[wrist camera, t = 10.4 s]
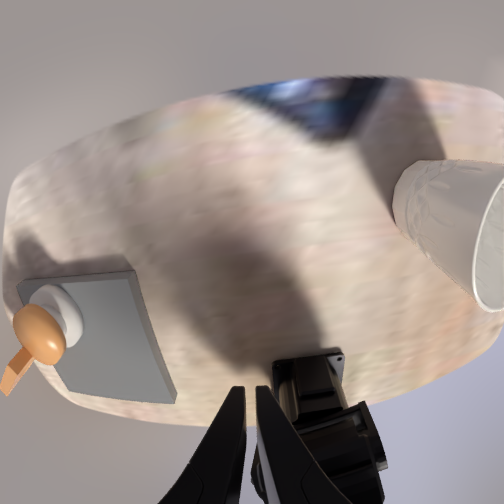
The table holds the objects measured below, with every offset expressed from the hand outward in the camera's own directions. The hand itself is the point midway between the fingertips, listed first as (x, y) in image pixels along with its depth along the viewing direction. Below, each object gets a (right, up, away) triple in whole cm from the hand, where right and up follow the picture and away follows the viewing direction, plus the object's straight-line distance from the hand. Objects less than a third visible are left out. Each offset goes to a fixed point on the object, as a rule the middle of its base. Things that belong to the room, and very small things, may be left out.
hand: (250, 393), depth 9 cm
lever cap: (-20, -4, +11) cm, 23 cm away
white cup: (+14, +9, +10) cm, 19 cm away
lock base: (-15, -4, +14) cm, 21 cm away
